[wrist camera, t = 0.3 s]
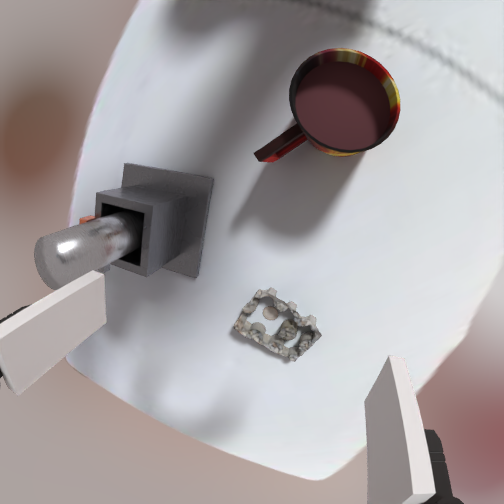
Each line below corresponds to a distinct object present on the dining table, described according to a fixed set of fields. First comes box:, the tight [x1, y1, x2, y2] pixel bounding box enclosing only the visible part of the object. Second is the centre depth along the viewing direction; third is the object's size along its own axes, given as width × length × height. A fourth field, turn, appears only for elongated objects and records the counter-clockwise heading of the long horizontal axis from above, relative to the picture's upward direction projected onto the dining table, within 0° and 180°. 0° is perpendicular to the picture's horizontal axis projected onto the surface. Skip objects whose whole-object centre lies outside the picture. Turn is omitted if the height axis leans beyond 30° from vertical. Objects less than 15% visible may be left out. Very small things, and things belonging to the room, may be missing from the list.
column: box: [34, 209, 145, 290], centre depth 32 cm, size 6×6×20 cm
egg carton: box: [234, 288, 322, 362], centre depth 41 cm, size 11×8×4 cm
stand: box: [80, 163, 214, 278], centre depth 37 cm, size 14×14×12 cm
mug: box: [254, 48, 400, 162], centre depth 28 cm, size 10×14×12 cm
